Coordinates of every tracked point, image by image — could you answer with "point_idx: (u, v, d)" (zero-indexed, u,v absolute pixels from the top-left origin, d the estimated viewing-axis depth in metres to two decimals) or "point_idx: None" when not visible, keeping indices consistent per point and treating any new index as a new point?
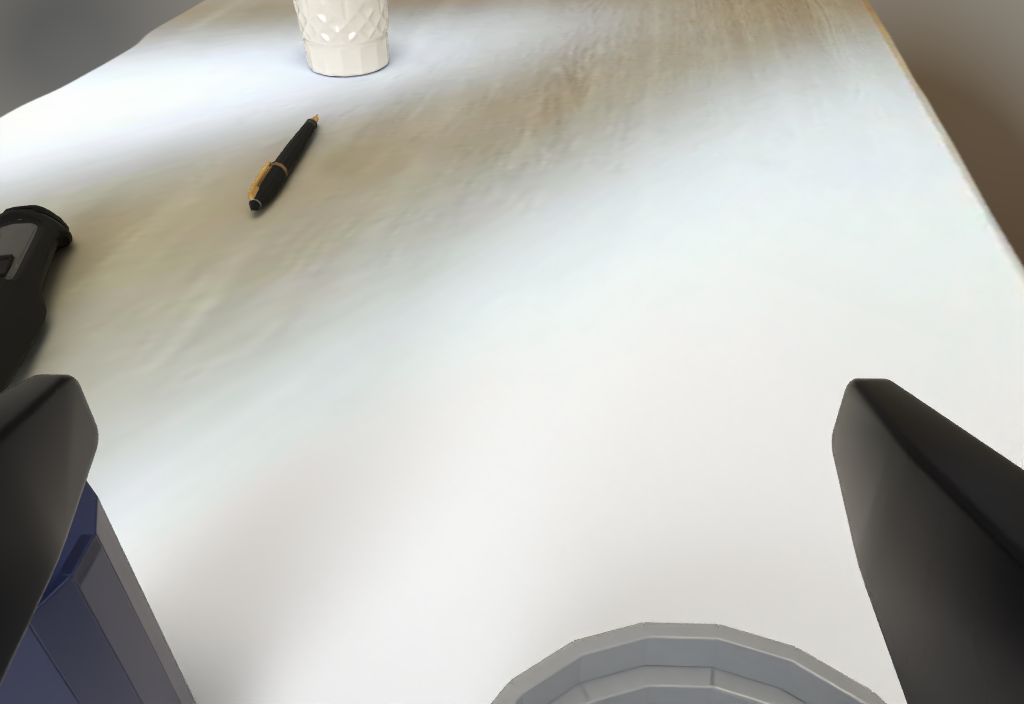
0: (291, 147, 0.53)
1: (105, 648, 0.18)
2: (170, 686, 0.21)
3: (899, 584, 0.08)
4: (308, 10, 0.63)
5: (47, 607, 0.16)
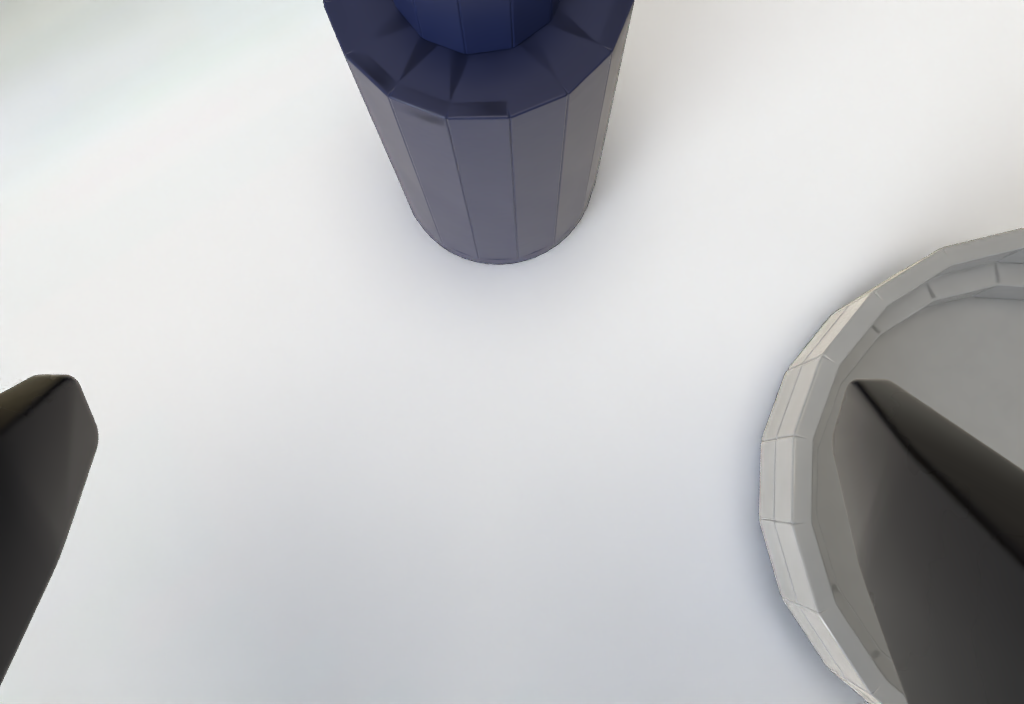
0: None
1: (597, 117, 0.16)
2: None
3: (899, 584, 0.08)
4: None
5: (585, 82, 0.14)
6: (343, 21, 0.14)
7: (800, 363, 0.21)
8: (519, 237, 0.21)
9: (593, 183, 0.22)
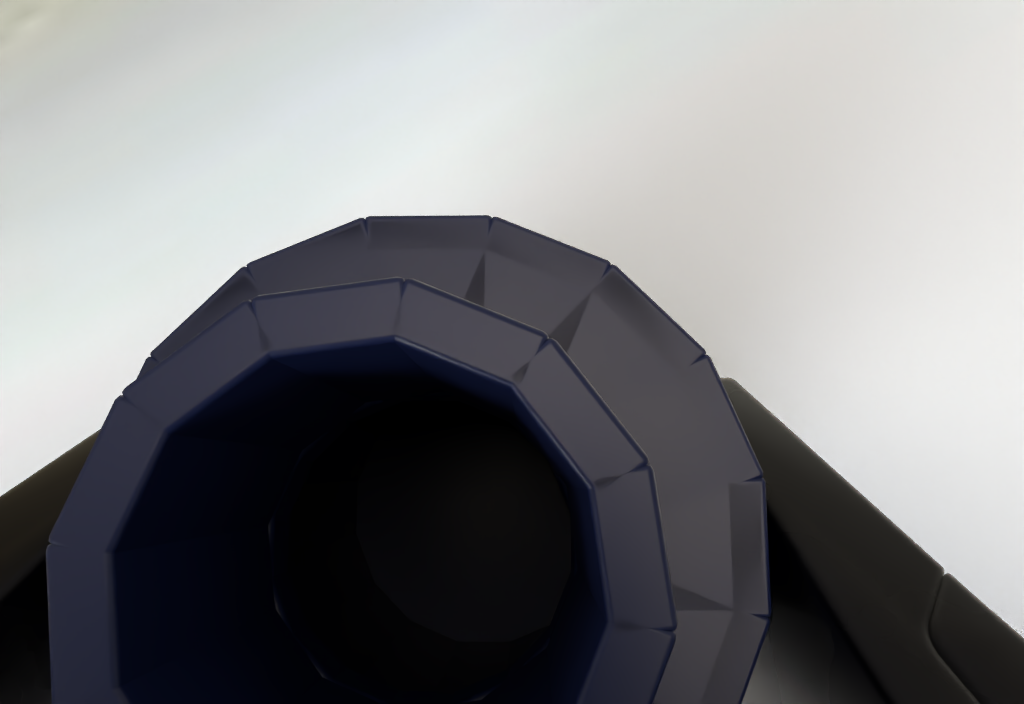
0: None
1: None
2: None
3: None
4: None
5: None
6: None
7: None
8: None
9: None
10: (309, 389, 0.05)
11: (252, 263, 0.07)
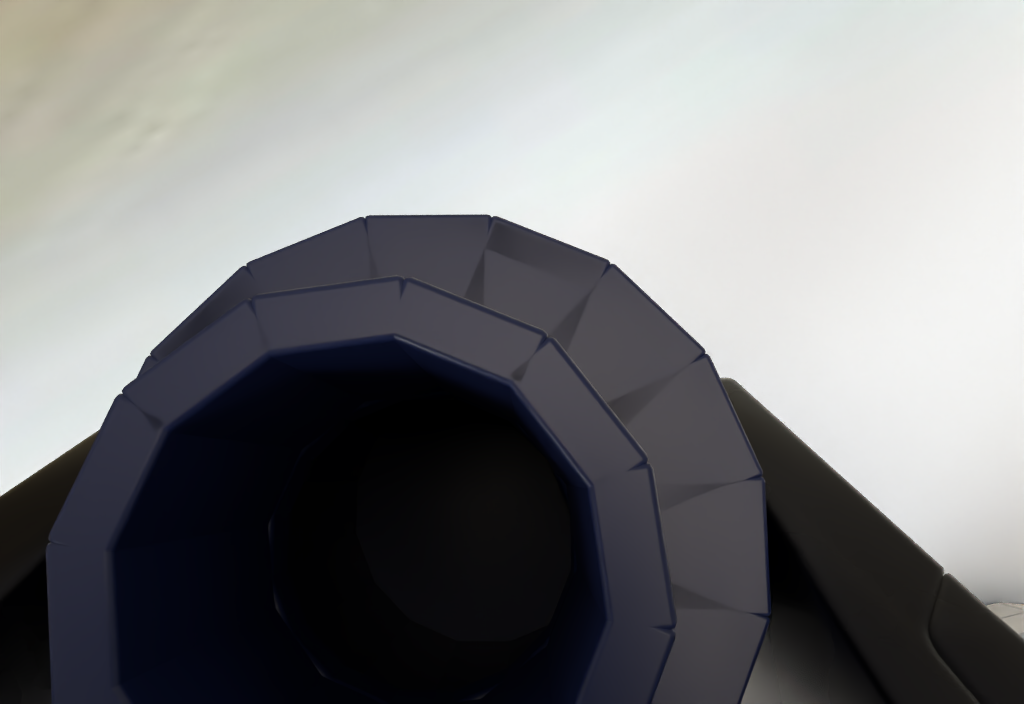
0: None
1: None
2: None
3: None
4: None
5: None
6: None
7: None
8: None
9: None
10: (309, 388, 0.05)
11: (252, 261, 0.07)
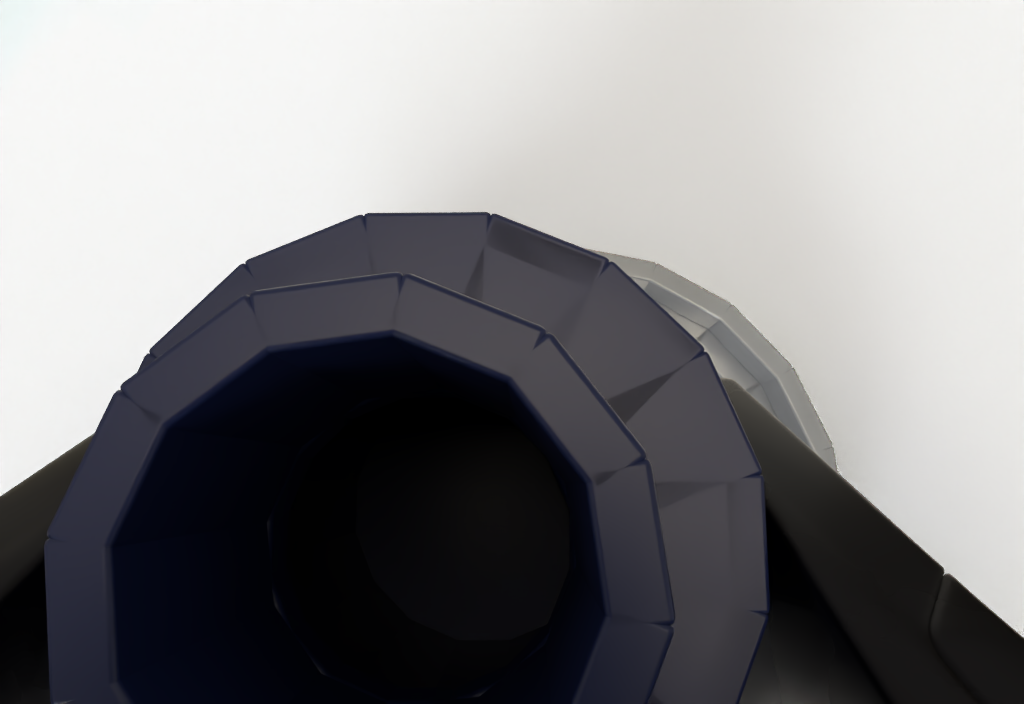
0: None
1: None
2: None
3: None
4: None
5: None
6: None
7: None
8: None
9: None
10: (307, 385, 0.05)
11: (251, 259, 0.07)
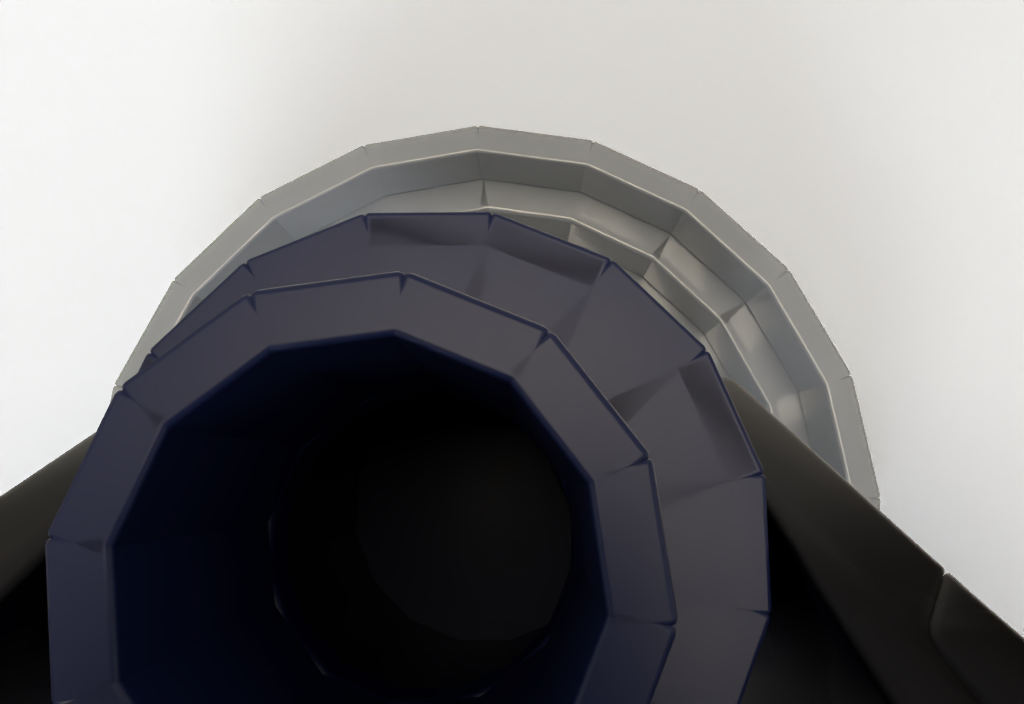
0: None
1: None
2: None
3: None
4: None
5: None
6: None
7: None
8: None
9: None
10: (308, 385, 0.05)
11: (251, 259, 0.07)
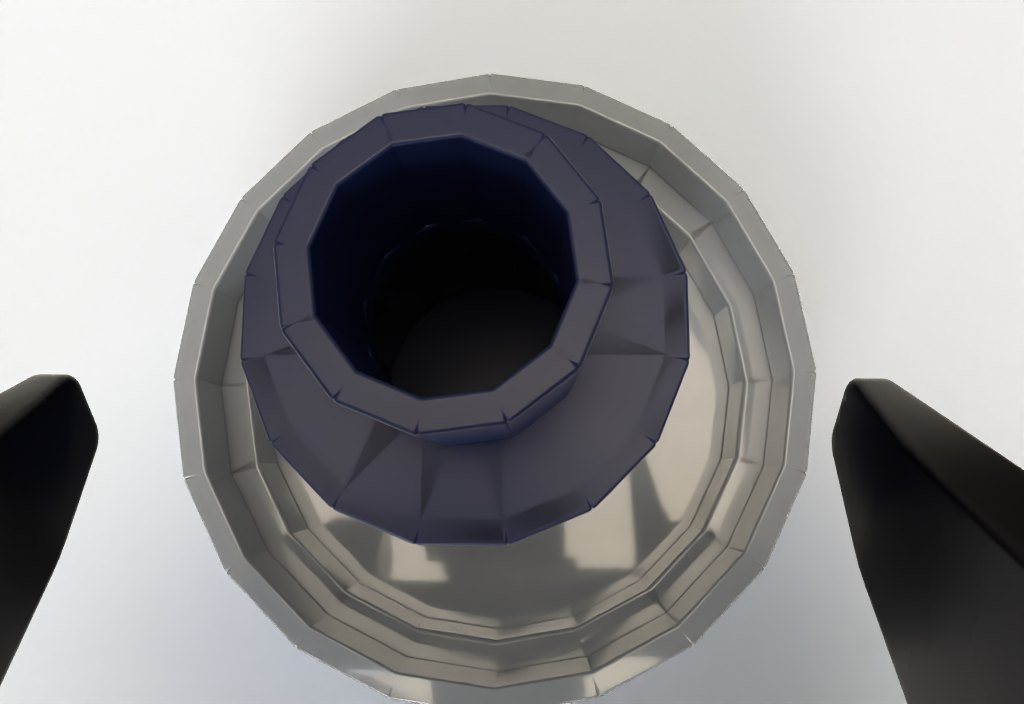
0: None
1: None
2: None
3: (899, 584, 0.08)
4: None
5: (617, 485, 0.10)
6: (268, 389, 0.10)
7: None
8: None
9: None
10: (402, 188, 0.09)
11: (348, 137, 0.10)
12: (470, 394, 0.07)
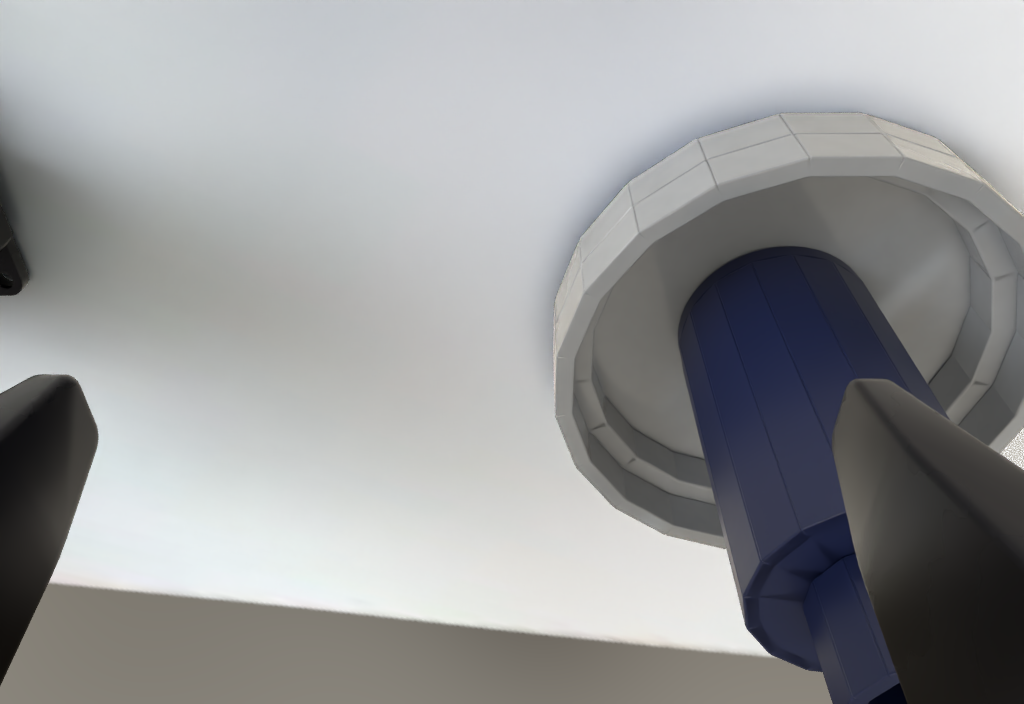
0: None
1: None
2: None
3: (899, 584, 0.08)
4: None
5: (753, 632, 0.17)
6: None
7: (880, 129, 0.19)
8: (689, 384, 0.22)
9: None
10: None
11: None
12: None
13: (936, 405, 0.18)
